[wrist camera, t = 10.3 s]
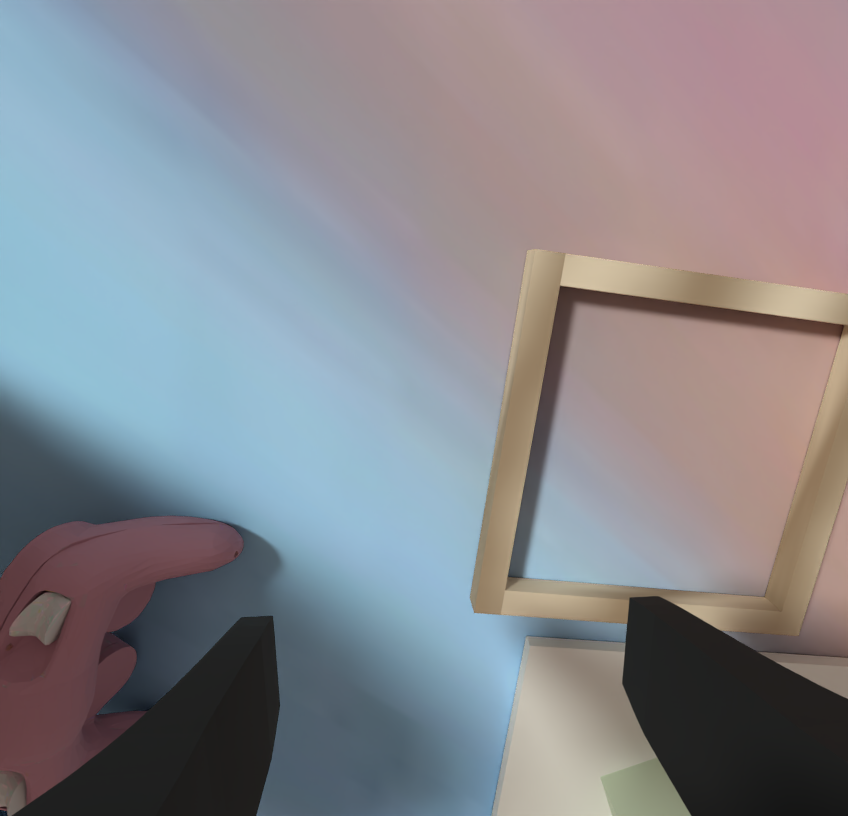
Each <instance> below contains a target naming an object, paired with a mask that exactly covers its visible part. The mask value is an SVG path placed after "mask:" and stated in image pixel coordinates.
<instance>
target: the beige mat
mask: <svg viewBox="0 0 848 816" xmlns="http://www.w3.org/2000/svg"><path fill="white" fill-rule="evenodd" d="M625 644H626V643H621V642H606V641H591V640H577V639H562V638H547V637H532V636H526V639H525V645H524V650H523V655H522V660H521V665H520V670H519V676H518V681H517V686H516V691H515V696H514V701H513V707H512V712H511V717H510V722H509V727H508V733H507V738H506V743H505V748H504V753H503V758H502V764H501V769H500V774H499V779H498V784H497V789H496V795H495V800H494V805H493V810H492V815H491V816H612V814H611V810H610V807H609V804H608V801H607V797H606V794H605V791H604V788H603V784H602V781H601V778H600V777H601V776H604V775H607V774H610V773H613V772H616V771H619V770H622V769H625V768H628V767H631V766H634V765H637V764H639V763H642V762H645V761H648V760H651V759H654V758H657V756H656V755H655V753H654V751H653V749H652V748H651V746H650V744H649V742H648V741H647V739H646V737H645V735H644V733H643V731H642V729H641V727H640V725H639V722H638V720H637V718H636V716H635V713H634V711H633V709H632V706H631V704H630V702H629V699H628V697H627V694H626V692H625V689H624V687H623V685H622V678H623V667H624V655H625ZM758 653H760V654H762V655H764V656H766V657H767V658H769V659H771V660H773V661H775V662H776V663H778V664H780V665H782V666H784V667H786V668H788V669H789V670H791V671H793V672H795V673H797V674H799V675H801V676H803V677H805V678H807V679H809V680H811V681H812V682H814V683H816V684H818V685H820V686H822V687H824V688H826V689H828V690H830V691H832V692H834V693H837V694H839V695H841V696H843V697H845V698H847V699H848V658H842V657H827V656H812V655H797V654H783V653H768V652H758Z"/></svg>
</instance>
